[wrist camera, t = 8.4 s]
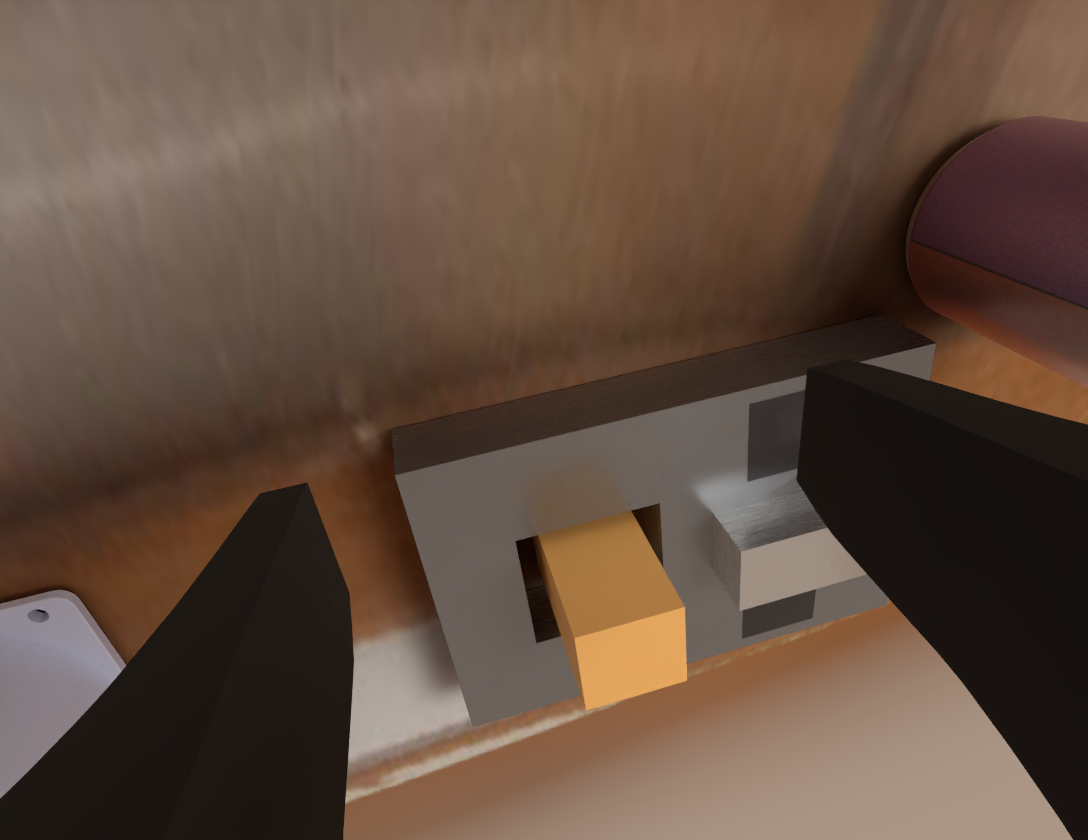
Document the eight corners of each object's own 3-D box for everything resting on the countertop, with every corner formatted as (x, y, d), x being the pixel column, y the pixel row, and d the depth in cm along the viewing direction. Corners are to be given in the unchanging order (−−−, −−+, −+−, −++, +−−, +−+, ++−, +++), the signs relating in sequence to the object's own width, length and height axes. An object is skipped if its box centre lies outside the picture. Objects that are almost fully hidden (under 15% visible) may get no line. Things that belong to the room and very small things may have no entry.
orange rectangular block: (538, 565, 24) (586, 710, 19) (526, 499, 22) (574, 638, 17) (619, 543, 24) (686, 680, 19) (612, 477, 23) (684, 606, 18)
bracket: (714, 571, 23) (783, 679, 19) (714, 513, 21) (789, 617, 18) (887, 523, 23) (986, 617, 20) (897, 464, 22) (1006, 553, 18)
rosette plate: (464, 671, 26) (473, 727, 24) (390, 429, 20) (395, 475, 18) (847, 562, 28) (886, 605, 26) (883, 314, 22) (936, 343, 20)
